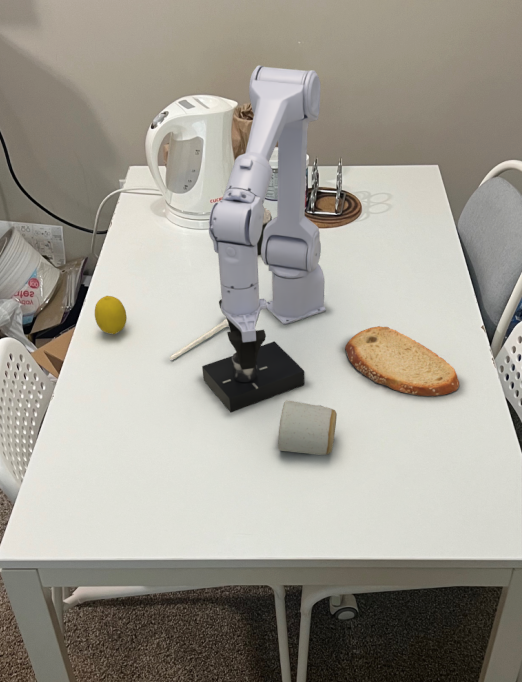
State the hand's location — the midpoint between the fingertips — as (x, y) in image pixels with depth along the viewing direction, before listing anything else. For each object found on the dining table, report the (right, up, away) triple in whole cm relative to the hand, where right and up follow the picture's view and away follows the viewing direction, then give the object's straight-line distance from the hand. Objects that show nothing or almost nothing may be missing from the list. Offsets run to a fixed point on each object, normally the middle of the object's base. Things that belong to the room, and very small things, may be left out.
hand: (243, 353), depth 120 cm
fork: (-7, +5, +17) cm, 19 cm away
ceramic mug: (+10, -14, -5) cm, 18 cm away
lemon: (-25, +5, +17) cm, 31 cm away
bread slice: (+26, -1, +10) cm, 28 cm away
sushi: (0, +27, +42) cm, 50 cm away
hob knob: (0, -3, +3) cm, 4 cm away
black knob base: (+1, -4, +6) cm, 8 cm away
